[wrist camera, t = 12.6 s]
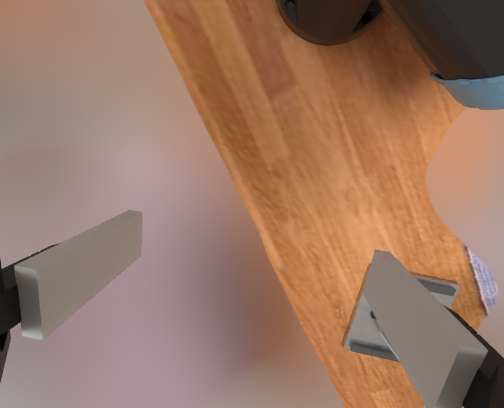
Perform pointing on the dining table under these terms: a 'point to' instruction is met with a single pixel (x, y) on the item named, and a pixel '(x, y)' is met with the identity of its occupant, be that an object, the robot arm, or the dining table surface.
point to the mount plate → (362, 324)
